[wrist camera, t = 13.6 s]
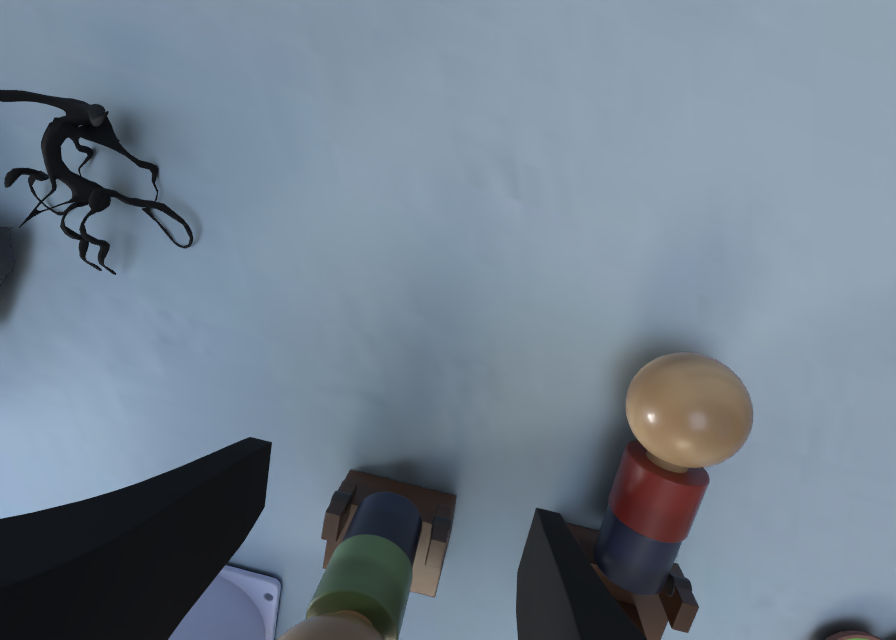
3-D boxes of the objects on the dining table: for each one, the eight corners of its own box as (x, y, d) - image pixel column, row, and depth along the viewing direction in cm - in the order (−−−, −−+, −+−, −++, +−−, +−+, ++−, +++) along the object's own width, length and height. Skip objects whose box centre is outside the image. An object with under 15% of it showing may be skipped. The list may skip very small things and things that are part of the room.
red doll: (661, 544, 22) (699, 624, 18) (569, 521, 23) (585, 595, 18) (735, 351, 20) (799, 392, 15) (631, 328, 20) (666, 362, 16)
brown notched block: (441, 559, 25) (416, 706, 18) (339, 533, 25) (274, 667, 18) (459, 482, 24) (441, 606, 16) (352, 456, 24) (287, 566, 17)
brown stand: (639, 610, 24) (697, 783, 17) (532, 583, 25) (545, 741, 17) (669, 533, 23) (745, 686, 16) (556, 506, 23) (580, 643, 16)
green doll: (447, 490, 20) (428, 572, 21) (347, 466, 20) (334, 547, 21) (395, 765, 10) (366, 880, 12) (208, 713, 11) (200, 831, 12)
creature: (208, 280, 24) (203, 111, 20) (127, 329, 19) (99, 120, 15) (63, 241, 24) (31, 68, 20) (-52, 279, 19) (-122, 62, 16)
